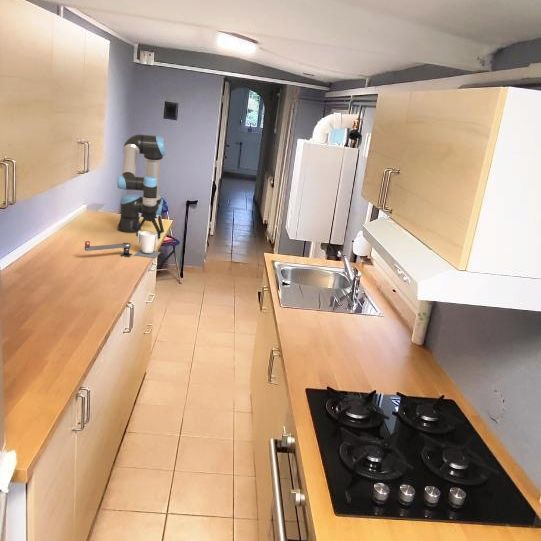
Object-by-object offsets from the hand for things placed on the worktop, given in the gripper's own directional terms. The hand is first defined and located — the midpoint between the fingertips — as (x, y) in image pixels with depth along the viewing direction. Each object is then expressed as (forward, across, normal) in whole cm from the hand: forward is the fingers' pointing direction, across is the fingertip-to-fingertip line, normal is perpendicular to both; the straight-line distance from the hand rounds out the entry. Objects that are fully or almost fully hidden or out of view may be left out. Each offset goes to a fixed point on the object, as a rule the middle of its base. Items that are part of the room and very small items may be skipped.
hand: (148, 243), depth 313 cm
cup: (+5, 0, 0) cm, 5 cm away
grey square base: (+7, -10, -8) cm, 14 cm away
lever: (+1, -18, -15) cm, 23 cm away
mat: (+7, 0, 0) cm, 7 cm away
